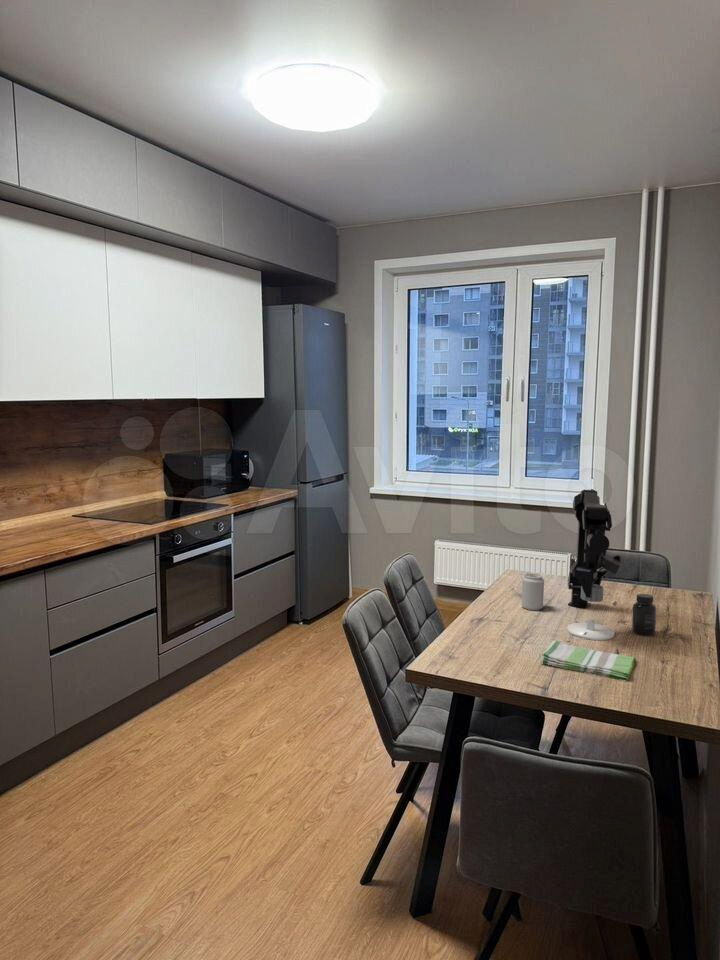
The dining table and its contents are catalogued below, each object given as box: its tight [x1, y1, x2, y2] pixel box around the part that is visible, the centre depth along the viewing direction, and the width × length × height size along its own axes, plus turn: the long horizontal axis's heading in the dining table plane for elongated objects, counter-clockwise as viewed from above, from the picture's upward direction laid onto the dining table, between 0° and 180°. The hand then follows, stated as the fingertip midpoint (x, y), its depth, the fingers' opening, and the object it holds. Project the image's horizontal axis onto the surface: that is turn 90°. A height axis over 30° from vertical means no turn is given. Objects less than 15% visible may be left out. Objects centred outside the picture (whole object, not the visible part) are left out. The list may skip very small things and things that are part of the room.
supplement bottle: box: [631, 593, 657, 636], centre depth 206 cm, size 7×7×12 cm
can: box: [521, 572, 545, 611], centre depth 231 cm, size 8×8×12 cm
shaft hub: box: [567, 618, 615, 641], centre depth 206 cm, size 14×14×4 cm
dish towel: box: [540, 639, 637, 682], centre depth 182 cm, size 17×23×4 cm
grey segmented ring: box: [581, 584, 604, 603], centre depth 205 cm, size 6×6×4 cm
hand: (591, 595), depth 205 cm, fingers closed on grey segmented ring, 6 cm apart
